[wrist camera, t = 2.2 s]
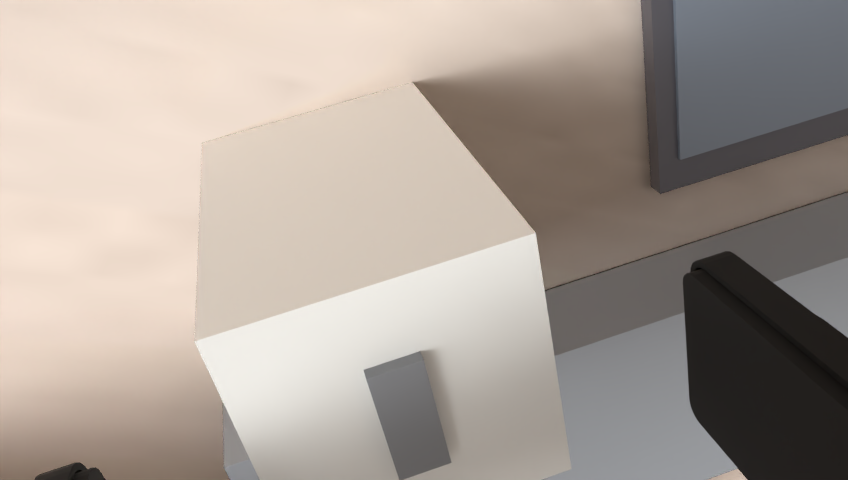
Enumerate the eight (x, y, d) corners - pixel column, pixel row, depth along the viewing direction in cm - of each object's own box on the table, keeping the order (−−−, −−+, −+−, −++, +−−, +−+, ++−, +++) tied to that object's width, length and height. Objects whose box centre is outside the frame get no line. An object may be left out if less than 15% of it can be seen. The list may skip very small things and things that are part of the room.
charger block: (202, 142, 15) (194, 351, 9) (412, 81, 16) (542, 240, 9) (270, 316, 17) (301, 576, 11) (451, 258, 18) (576, 478, 12)
